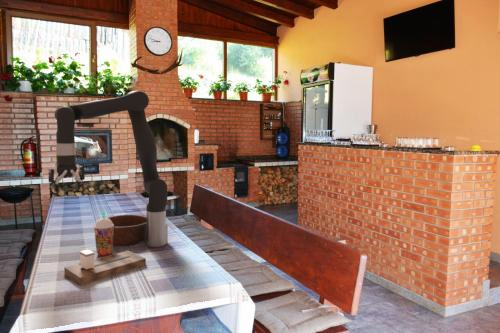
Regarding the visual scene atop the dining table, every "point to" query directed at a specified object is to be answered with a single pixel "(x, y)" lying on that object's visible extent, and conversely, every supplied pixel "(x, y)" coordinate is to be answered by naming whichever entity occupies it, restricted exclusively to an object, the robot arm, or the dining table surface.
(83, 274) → the brown flat wooden board
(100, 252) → the smoothie
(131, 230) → the wooden bowl
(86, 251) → the fader tab
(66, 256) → the dining table surface
